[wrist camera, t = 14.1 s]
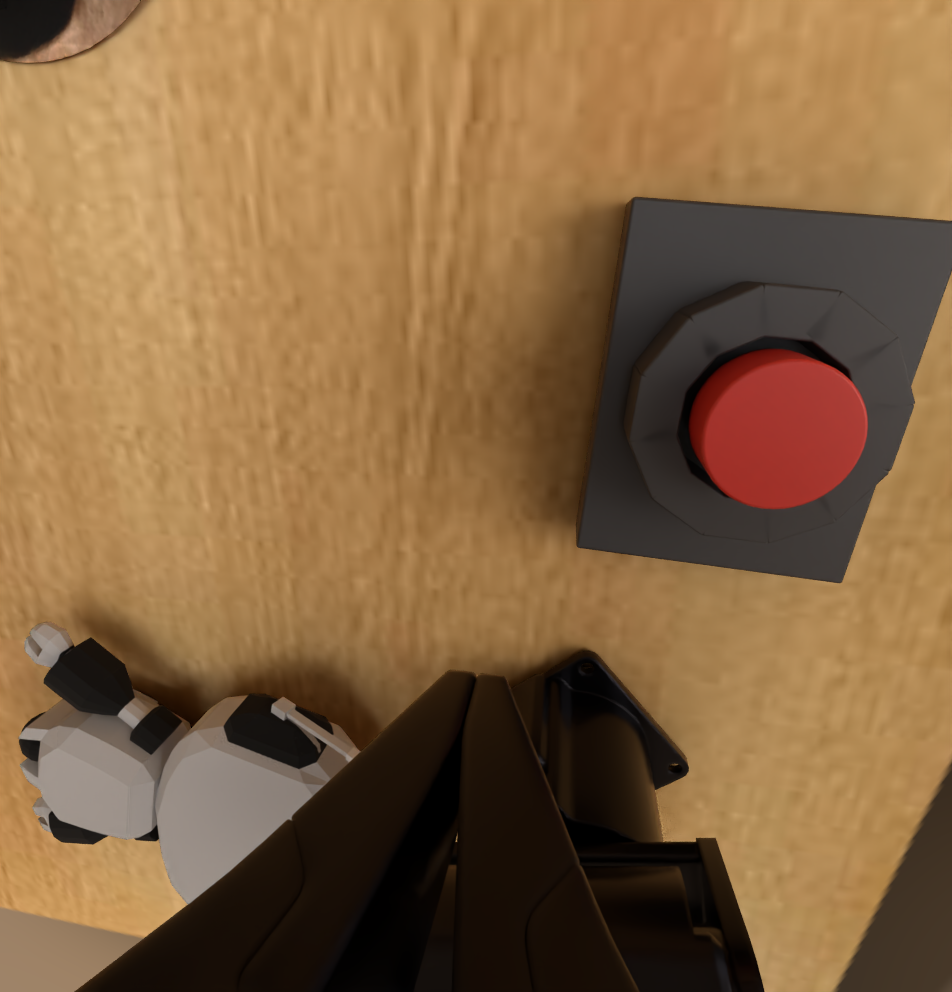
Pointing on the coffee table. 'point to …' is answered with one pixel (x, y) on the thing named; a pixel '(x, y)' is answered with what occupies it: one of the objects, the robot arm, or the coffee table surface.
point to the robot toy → (168, 764)
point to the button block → (738, 330)
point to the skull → (57, 26)
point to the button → (777, 428)
